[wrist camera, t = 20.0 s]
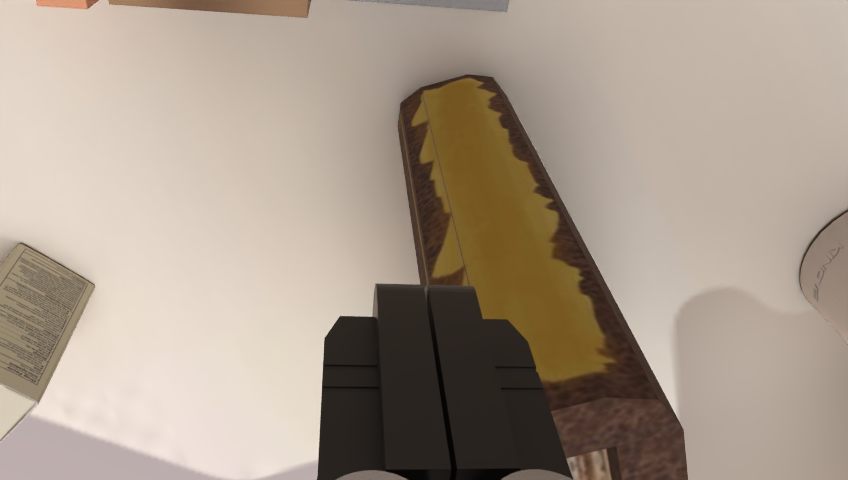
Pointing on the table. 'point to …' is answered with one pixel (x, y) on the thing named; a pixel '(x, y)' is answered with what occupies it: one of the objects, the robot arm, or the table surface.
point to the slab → (230, 6)
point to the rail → (465, 0)
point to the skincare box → (34, 328)
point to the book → (532, 277)
